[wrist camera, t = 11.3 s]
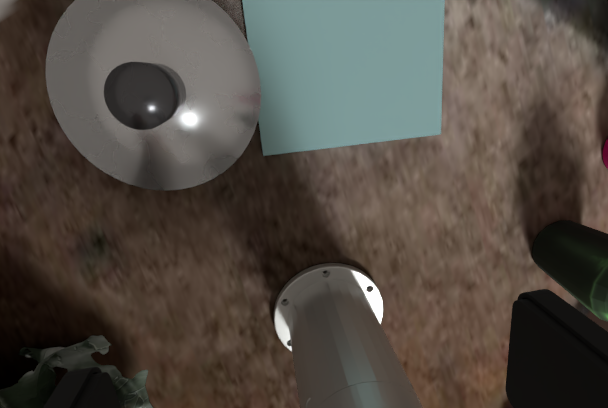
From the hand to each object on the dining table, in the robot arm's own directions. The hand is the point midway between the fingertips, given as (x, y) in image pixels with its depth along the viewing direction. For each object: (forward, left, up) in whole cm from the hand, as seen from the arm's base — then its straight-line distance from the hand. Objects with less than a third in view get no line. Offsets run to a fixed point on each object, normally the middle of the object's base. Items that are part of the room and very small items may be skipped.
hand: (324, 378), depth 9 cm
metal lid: (+6, +8, -24) cm, 26 cm away
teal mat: (+8, -8, -30) cm, 32 cm away
